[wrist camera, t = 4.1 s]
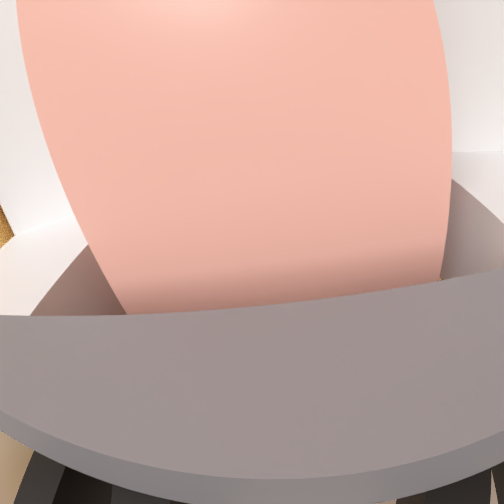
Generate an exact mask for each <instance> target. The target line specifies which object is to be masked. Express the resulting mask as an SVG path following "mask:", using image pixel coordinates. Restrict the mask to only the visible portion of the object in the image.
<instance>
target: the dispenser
mask: <svg viewBox="0 0 504 504" xmlns="http://www.w3.org/2000/svg"><path fill="white" fill-rule="evenodd" d="M433 2H434V6H435V10H436V14H437V18H438V23H439V27H440V32H441V37H442V42H443V48H444V53H445V60H446V67H447V74H448V83H449V93H450V105H451V122H452V177H451V195H450V207H449V218H448V227H447V235H446V242H445V249H444V255H443V261H442V267H441V273H440V277H441V279H442V280H440V281H435V282H430V283H424V284H418V285H412V286H407V287H401V288H394V289H388V290H382V291H375V292H369V293H362V294H355V295H348V296H340V297H333V298H325V299H317V300H309V301H300V302H291V303H282V304H273V305H263V306H252V307H242V308H230V309H218V310H205V311H190V312H174V313H156V314H133V315H127V313H126V312H125V310H124V309H123V307H122V305H121V304H120V302H119V300H118V298H117V297H116V295H115V293H114V292H113V290H112V288H111V286H110V284H109V283H108V281H107V279H106V277H105V275H104V274H103V272H102V270H101V268H100V266H99V264H98V262H97V260H96V259H95V257H94V255H93V253H92V251H91V249H90V247H89V245H88V243H87V241H86V239H85V237H84V235H83V232H82V230H81V228H80V226H79V224H78V222H77V220H76V217H75V215H74V213H73V211H72V208H71V206H70V204H69V201H68V199H67V197H66V194H65V192H64V190H63V187H62V185H61V182H60V180H59V177H58V174H57V172H56V169H55V167H54V164H53V161H52V158H51V156H50V153H49V150H48V147H47V144H46V141H45V138H44V135H43V132H42V129H41V125H40V122H39V119H38V115H37V112H36V108H35V105H34V101H33V97H32V93H31V89H30V85H29V81H28V76H27V72H26V67H25V62H24V57H23V52H22V46H21V40H20V33H19V26H18V17H17V8H16V0H0V204H1V207H2V209H3V211H4V214H5V216H6V218H7V220H8V222H9V224H10V227H11V229H12V231H13V233H14V235H15V236H14V237H13V238H11V239H10V240H9V241H8V242H7V243H6V244H5V245H4V246H3V247H2V248H1V249H0V430H1V431H2V432H4V433H5V434H7V435H8V436H10V437H12V438H13V439H15V440H17V441H18V442H20V443H22V444H24V445H25V446H27V447H29V448H31V449H33V450H35V451H36V452H38V453H40V454H42V455H44V456H46V457H48V458H50V459H52V460H54V461H56V462H59V463H61V464H63V465H65V466H67V467H70V468H72V469H74V470H77V471H79V472H81V473H84V474H86V475H89V476H92V477H94V478H97V479H100V480H102V481H105V482H108V483H111V484H114V485H117V486H120V487H123V488H126V489H130V490H133V491H137V492H140V493H144V494H148V495H152V496H156V497H160V498H164V499H169V500H174V501H178V502H184V503H189V504H375V503H380V502H385V501H390V500H395V499H399V498H403V497H407V496H411V495H415V494H419V493H423V492H426V491H429V490H433V489H436V488H439V487H442V486H445V485H448V484H451V483H454V482H457V481H459V480H462V479H465V478H467V477H470V476H472V475H475V474H477V473H480V472H482V471H484V470H486V469H489V468H491V467H493V466H495V465H497V464H499V463H501V462H503V461H504V0H433Z"/></svg>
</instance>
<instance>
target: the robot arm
mask: <svg viewBox="0 0 504 504" xmlns="http://www.w3.org/2000/svg"><path fill="white" fill-rule="evenodd" d="M491 469H492V474H493V478H494V483H495V488H496V493H497V498H498V504H504V461H503V462H501V463H499V464H497V465H495V466H493V467H491V468H489V469H486V470H484V471H482V472H480V473H477V474H475V475H472V476H470V477H467V478H465V479H462V480H459V481H457V482H454V483H451V484H448V485H445V486H442V487H439V488H436V489H433V490H429V491H426V492H423V493H419V494H415V495H411V496H407V497H403V498H399V499H397V501H396V504H490V495H491ZM14 504H189V503H184V502H178V501H174V500H169V499H164V498H160V497H156V496H152V495H148V494H144V493H140V492H137V491H133V490H130V489H126V488H123V487H120V486H117V485H114V484H111V483H108V482H105V481H102V480H100V479H97V478H94V477H92V476H89V475H86V474H84V473H81V472H79V471H77V470H74V469H72V468H70V467H67V466H65V465H63V464H61V463H59V462H56V461H54V460H52V459H50V458H48V457H46V456H44V455H42V454H40V453H38V452H36V451H35V450H34V453H33V455H32V457H31V460H30V462H29V464H28V467H27V469H26V472H25V474H24V477H23V479H22V482H21V485H20V487H19V490H18V493H17V495H16V498H15V501H14Z"/></svg>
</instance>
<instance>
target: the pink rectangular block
mask: <svg viewBox="0 0 504 504" xmlns="http://www.w3.org/2000/svg"><path fill="white" fill-rule="evenodd" d="M16 8H17V17H18V26H19V33H20V40H21V46H22V52H23V57H24V62H25V67H26V72H27V76H28V81H29V85H30V89H31V93H32V97H33V101H34V105H35V108H36V112H37V115H38V119H39V122H40V125H41V129H42V132H43V135H44V138H45V141H46V144H47V147H48V150H49V153H50V156H51V158H52V161H53V164H54V167H55V169H56V172H57V174H58V177H59V180H60V182H61V185H62V187H63V190H64V192H65V194H66V197H67V199H68V201H69V204H70V206H71V208H72V211H73V213H74V215H75V217H76V220H77V222H78V224H79V226H80V228H81V230H82V232H83V235H84V237H85V239H86V241H87V243H88V245H89V247H90V249H91V251H92V253H93V255H94V257H95V259H96V260H97V262H98V264H99V266H100V268H101V270H102V272H103V274H104V275H105V277H106V279H107V281H108V283H109V284H110V286H111V288H112V290H113V292H114V293H115V295H116V297H117V298H118V300H119V302H120V304H121V305H122V307H123V309H124V310H125V312H126V313H127V315H133V314H156V313H174V312H190V311H205V310H218V309H230V308H242V307H252V306H263V305H273V304H282V303H291V302H300V301H309V300H317V299H325V298H333V297H340V296H348V295H355V294H362V293H369V292H375V291H382V290H388V289H394V288H401V287H407V286H412V285H418V284H424V283H430V282H435V281H439V278H440V273H441V267H442V261H443V255H444V249H445V242H446V235H447V227H448V218H449V207H450V195H451V177H452V122H451V105H450V93H449V83H448V74H447V67H446V60H445V53H444V48H443V42H442V37H441V32H440V27H439V23H438V18H437V14H436V10H435V6H434V2H433V0H16Z"/></svg>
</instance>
